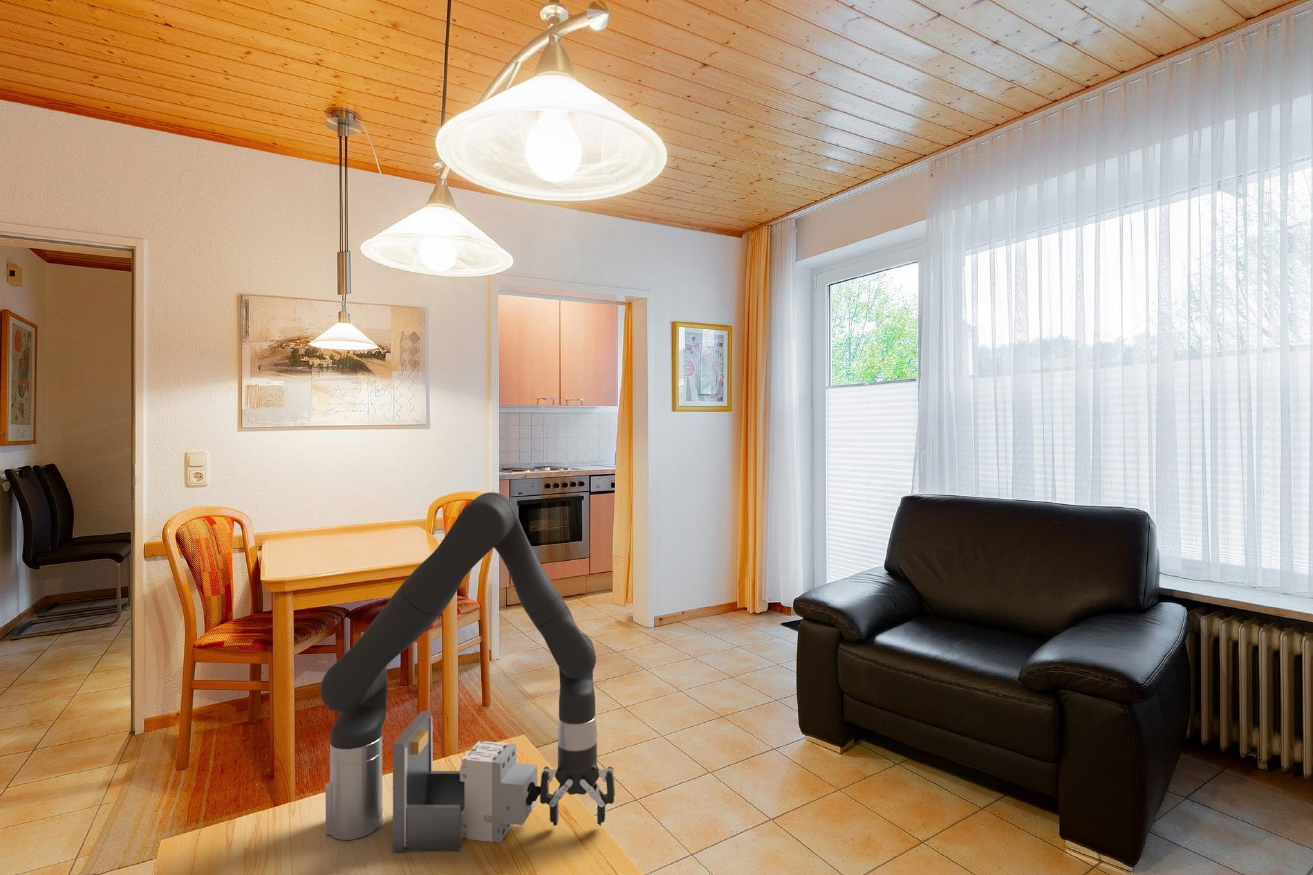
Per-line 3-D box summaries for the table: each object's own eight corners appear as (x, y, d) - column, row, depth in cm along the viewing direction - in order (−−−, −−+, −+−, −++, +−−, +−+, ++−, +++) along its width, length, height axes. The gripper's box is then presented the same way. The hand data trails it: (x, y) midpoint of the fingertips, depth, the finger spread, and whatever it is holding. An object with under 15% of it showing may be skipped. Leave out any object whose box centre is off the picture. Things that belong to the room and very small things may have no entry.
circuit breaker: (531, 846, 119) (531, 765, 119) (460, 837, 122) (460, 759, 122) (545, 822, 126) (545, 746, 126) (477, 814, 129) (477, 740, 129)
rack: (393, 852, 117) (392, 743, 117) (421, 808, 131) (421, 710, 131) (458, 853, 117) (458, 743, 117) (480, 808, 131) (479, 711, 131)
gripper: (536, 749, 120) (537, 835, 120) (612, 748, 120) (613, 835, 120) (544, 730, 128) (544, 811, 128) (615, 730, 128) (615, 811, 128)
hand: (577, 823), depth 124 cm, fingers open, 8 cm apart
